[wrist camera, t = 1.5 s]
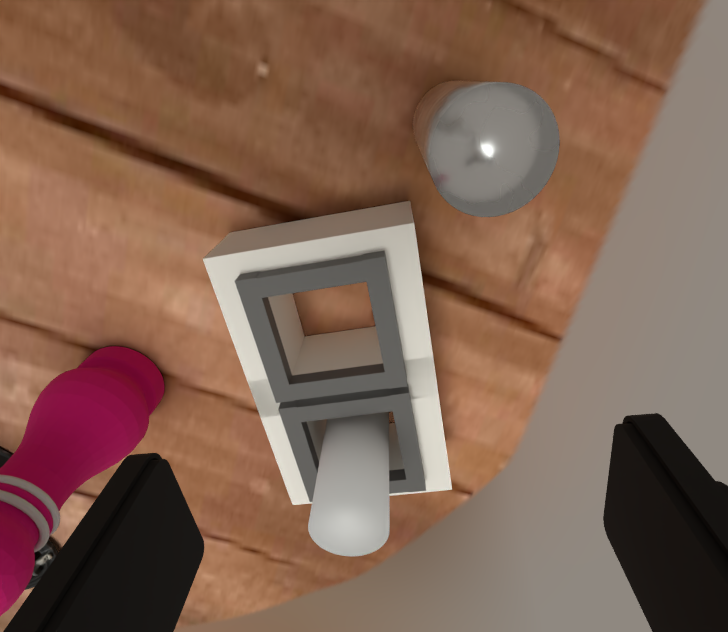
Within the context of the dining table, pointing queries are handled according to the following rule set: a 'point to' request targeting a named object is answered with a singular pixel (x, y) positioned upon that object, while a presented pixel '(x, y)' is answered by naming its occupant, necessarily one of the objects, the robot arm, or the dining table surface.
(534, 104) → the peg
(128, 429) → the pepper mill
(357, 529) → the socket block
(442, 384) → the dining table surface
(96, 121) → the dining table surface
